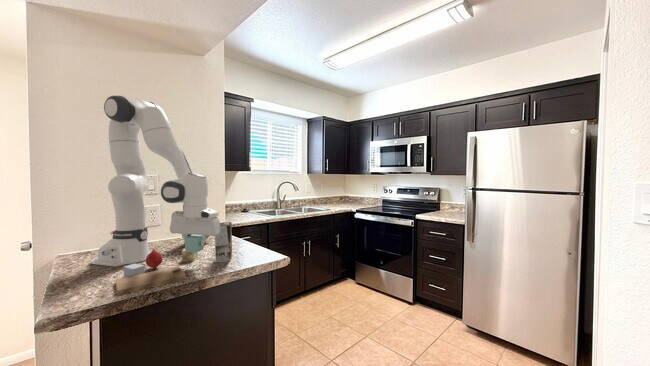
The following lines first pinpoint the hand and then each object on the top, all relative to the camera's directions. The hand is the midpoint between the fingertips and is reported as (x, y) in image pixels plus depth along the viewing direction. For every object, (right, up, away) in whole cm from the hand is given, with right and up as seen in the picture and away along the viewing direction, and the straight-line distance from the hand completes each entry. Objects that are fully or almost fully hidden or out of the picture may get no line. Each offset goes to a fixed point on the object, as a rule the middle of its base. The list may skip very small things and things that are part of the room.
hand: (194, 244), depth 111 cm
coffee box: (+9, -9, +10) cm, 16 cm away
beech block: (-6, -9, +9) cm, 14 cm away
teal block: (0, -2, 0) cm, 2 cm away
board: (-8, -10, -15) cm, 20 cm away
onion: (-15, -9, -2) cm, 18 cm away
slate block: (-18, -10, -10) cm, 23 cm away
